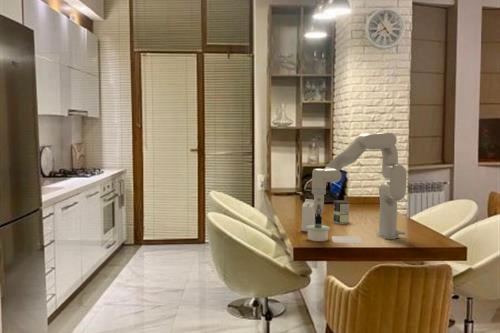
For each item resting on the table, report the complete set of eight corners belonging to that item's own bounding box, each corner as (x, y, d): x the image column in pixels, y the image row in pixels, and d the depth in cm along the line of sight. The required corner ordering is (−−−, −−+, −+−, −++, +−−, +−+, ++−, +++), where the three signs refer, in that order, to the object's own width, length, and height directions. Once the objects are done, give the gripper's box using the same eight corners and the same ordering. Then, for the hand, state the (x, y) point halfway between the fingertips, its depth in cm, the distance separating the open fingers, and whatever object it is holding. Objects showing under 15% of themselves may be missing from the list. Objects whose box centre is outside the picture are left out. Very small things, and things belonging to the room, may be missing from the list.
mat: (360, 237, 277) (360, 237, 277) (363, 244, 261) (363, 243, 261) (331, 236, 279) (331, 236, 279) (333, 243, 263) (333, 242, 263)
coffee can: (331, 223, 321) (332, 201, 320) (334, 220, 330) (335, 199, 329) (347, 224, 317) (348, 202, 316) (349, 221, 327) (350, 200, 326)
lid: (329, 226, 277) (329, 218, 277) (330, 231, 264) (330, 222, 264) (306, 226, 279) (306, 217, 278) (306, 230, 266) (306, 221, 265)
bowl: (327, 237, 277) (327, 227, 276) (328, 242, 266) (328, 231, 265) (307, 237, 278) (307, 226, 277) (307, 241, 267) (308, 230, 267)
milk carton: (307, 229, 300) (308, 198, 299) (317, 230, 296) (318, 199, 294) (301, 230, 295) (302, 199, 293) (311, 232, 290) (312, 200, 289)
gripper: (326, 193, 261) (325, 225, 262) (324, 189, 278) (324, 219, 279) (312, 193, 262) (311, 224, 263) (311, 189, 279) (310, 219, 280)
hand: (318, 222), depth 271 cm, fingers open, 9 cm apart
